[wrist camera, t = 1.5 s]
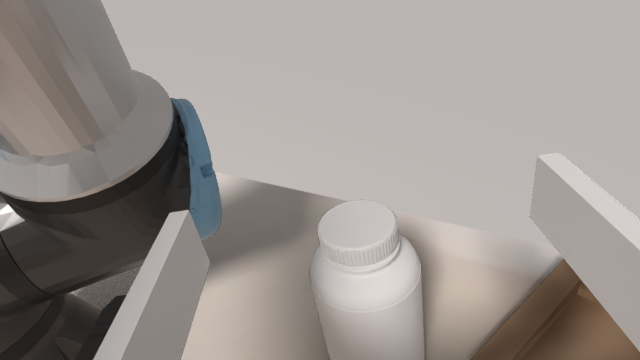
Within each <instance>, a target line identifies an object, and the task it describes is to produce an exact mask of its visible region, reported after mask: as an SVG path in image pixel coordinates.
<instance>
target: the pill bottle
mask: <svg viewBox="0 0 640 360" xmlns="http://www.w3.org/2000/svg"><path fill="white" fill-rule="evenodd" d="M317 231H318V237H319V241H320V246H319V247H318V248H317V250H316V251H315V253H314V255H313V258H312V261H311V265H310V273H309V275H310V283H311V287H312V291H313V295H314V299H315V303H316V307H317V311H318V315H319V318H320V322H321V326H322V330H323V334H324V338H325V342H326V346H327V350H328V354H329V358H330V360H424V359H425V347H424V323H423V299H422V274H421V264H420V260H419V257H418V255H417V253H416V251H415V249H414V247H413V246H412V244H411V243H410V242H409V241H408V240H407V239H406V238H405V237H404V236H402V235H401V234H399V233H398V223H397V218H396V216H395V214H394V213H393V212H392V210H391V209H390V208H388V207H387V206H385V205H384V204H381V203H379V202H375V201H371V200H353V201H348V202H344V203H342V204H339V205H337V206H335V207H333V208H331V209H330V210H329V211H327V212H326V213H325V214H324V215H323V217H322V218H321V220H320V222H319V224H318V229H317Z"/></svg>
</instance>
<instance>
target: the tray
mask: <svg viewBox="0 0 640 360" xmlns="http://www.w3.org/2000/svg"><path fill="white" fill-rule="evenodd" d="M471 360H640V352H639V350H638V349H637V348H636V347H635V345H634V344H633V343H632V342H631V340H630V339H629V338H628V337H627V336H626V334H625V333H624V332H623V331H622V329H621V328H620V327H619V326H618V324H617V323H616V322H615V321H614V320H613V318H612V317H611V316H610V315H609V313H608V312H607V311H606V310H605V308H604V307H603V306H602V305H601V304H600V302H599V301H598V300H597V299H596V297H595V296H594V295H593V294H592V292H591V291H590V290H589V289H588V288H587V286H586V285H585V284H584V283H583V281H582V280H581V279H580V278H579V276H578V275H577V274H576V273H575V272H574V270H573V269H572V268H571V267H570V265H569V264H568V263H567V262H566V260H565V259H564V260H563V261H562V262H561V263H560V264H559V265H558V266H557V267H556V268H555V269H554V270H553V271H552V273H551V274H550V275H549V276H548V277H547V278H546V279H545V280H544V281H543V282H542V283H541V284H540V285H539V287H538V288H537V289H536V290H535V291H534V292H533V293H532V294H531V295H530V296H529V297H528V298H527V300H526V301H525V302H524V303H523V304H522V305H521V306H520V307H519V308H518V309H517V310H516V311H515V312H514V314H513V315H512V316H511V317H510V318H509V319H508V320H507V321H506V322H505V323H504V324H503V325H502V327H501V328H500V329H499V330H498V331H497V332H496V333H495V334H494V335H493V336H492V337H491V338H490V339H489V341H488V342H487V343H486V344H485V345H484V346H483V347H482V348H481V349H480V350H479V351H478V352H477V354H476V355H475V356H474V357H473V358H472V359H471Z"/></svg>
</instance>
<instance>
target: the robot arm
mask: <svg viewBox="0 0 640 360" xmlns="http://www.w3.org/2000/svg"><path fill="white" fill-rule="evenodd" d="M530 217H531V219H532V220H533V221H534V222H535V224H536V225H537V226H538V227H539V228H540V230H541V231H542V232H543V233H544V234H545V236H546V237H547V238H548V239H549V241H550V242H551V243H552V244H553V246H554V247H555V248H556V249H557V251H558V252H559V253H560V254H561V256H562V257H563V258H564V259H565V260H566V262H567V263H568V264H569V265H570V267H571V268H572V269H573V270H574V272H575V273H576V274H577V275H578V276H579V278H580V279H581V280H582V281H583V283H584V284H585V285H586V286H587V288H588V289H589V290H590V291H591V292H592V294H593V295H594V296H595V297H596V299H597V300H598V301H599V302H600V304H601V305H602V306H603V307H604V308H605V310H606V311H607V312H608V313H609V315H610V316H611V317H612V318H613V320H614V321H615V322H616V323H617V324H618V326H619V327H620V328H621V329H622V331H623V332H624V333H625V334H626V336H627V337H628V338H629V339H630V340H631V342H632V343H633V344H634V345H635V347H636V348H637V349H638V350H639V352H640V219H639V218H637V217H636V216H635V215H634V214H632V213H631V212H630V211H629V210H628V209H627V208H625V207H624V206H623V205H622V204H621V203H619V202H618V201H617V200H616V199H614V198H613V197H612V196H611V195H610V194H609V193H607V192H606V191H605V190H604V189H602V188H601V187H600V186H599V185H597V184H596V183H595V182H594V181H593V180H592V179H590V178H589V177H588V176H587V175H586V174H584V173H583V172H582V171H581V170H580V169H578V168H577V167H576V166H575V165H574V164H572V163H571V162H570V161H569V160H568V159H566V158H565V157H564V156H563V155H561V154H560V153H559V152H558V153H551V154H546V155H539V156H537V162H536V170H535V179H534V186H533V195H532V203H531V210H530ZM221 218H222V209H221V200H220V193H219V188H218V183H217V179H216V175H215V172H214V170H213V169H212V161H211V155H210V150H209V147H208V143H207V140H206V137H205V134H204V131H203V128H202V125H201V122H200V120H199V117H198V115H197V113H196V111H195V109H194V107H193V105H192V104H191V103H190V102H189V101H188V100H186V99H174V98H169V96H168V94H167V92H166V91H165V90H164V88H163V87H162V86H161V85H160V84H159V83H158V82H157V81H156V80H154V79H153V78H151V77H150V76H147V75H145V74H143V73H140V72H138V71H135V70H132V69H131V67H130V65H129V62H128V60H127V58H126V56H125V53H124V51H123V49H122V47H121V45H120V42H119V40H118V38H117V35H116V34H115V31H114V29H113V27H112V24H111V22H110V20H109V18H108V16H107V13H106V11H105V9H104V6H103V4H102V2H101V0H0V360H181V357H182V354H183V351H184V347H185V344H186V341H187V338H188V334H189V331H190V328H191V325H192V321H193V318H194V315H195V312H196V309H197V305H198V302H199V299H200V296H201V292H202V289H203V286H204V283H205V279H206V276H207V273H208V270H209V267H210V260H209V258H208V256H207V253H206V251H205V248H204V246H203V243H202V241H203V240H205V239H208V238H210V237H211V236H213V235H214V234H215V233H216V231H217V230H218V228H219V226H220V223H221ZM141 265H142V267H141V269H140V271H139V273H138V274H137V276H136V278H135V280H134V282H133V284H132V286H131V288H130V290H129V292H128V294H127V295H123V296H116V297H115V298H114V299H113V300H112V301H111V302H110V303H109V304H108V305H107V306H106V307H105V308H104V309H103V310H102V311H100V310H99V309H97V308H95V307H93V306H92V305H90V304H88V303H87V302H85V301H83V300H82V299H80V298H78V297H76V296H75V295H73V294H71V293H70V292H72V291H75V290H77V289H80V288H82V287H85V286H88V285H90V284H93V283H96V282H98V281H101V280H103V279H106V278H109V277H111V276H114V275H117V274H119V273H122V272H125V271H128V270H130V269H133V268H136V267H139V266H141Z"/></svg>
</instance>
